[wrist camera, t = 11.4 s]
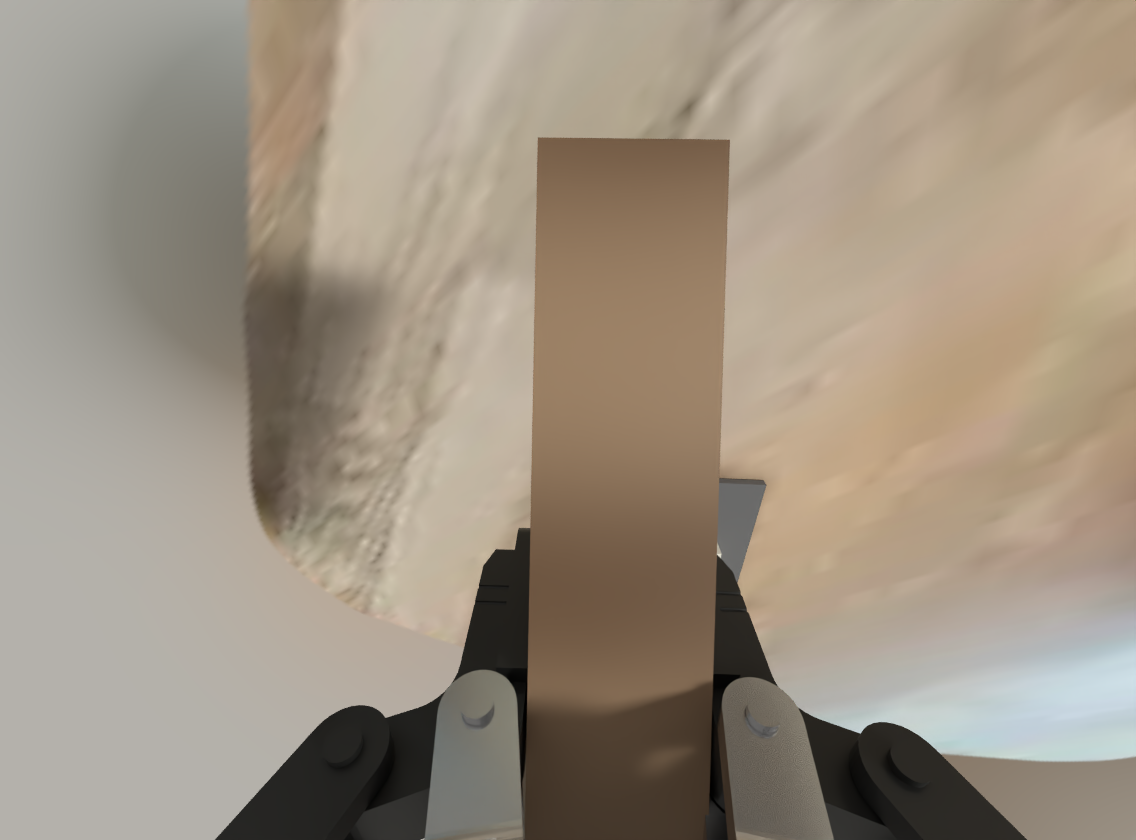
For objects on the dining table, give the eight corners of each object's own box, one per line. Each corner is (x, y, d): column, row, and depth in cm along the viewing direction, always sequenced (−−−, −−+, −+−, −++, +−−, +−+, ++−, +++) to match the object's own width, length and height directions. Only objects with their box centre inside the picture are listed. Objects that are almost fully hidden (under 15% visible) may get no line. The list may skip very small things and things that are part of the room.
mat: (572, 472, 29) (572, 476, 29) (763, 480, 29) (766, 485, 29) (564, 621, 36) (564, 627, 35) (720, 628, 36) (721, 634, 35)
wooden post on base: (468, 257, 13) (379, 136, 7) (748, 262, 13) (891, 141, 7) (460, 774, 14) (371, 1057, 8) (731, 783, 14) (853, 1079, 8)
